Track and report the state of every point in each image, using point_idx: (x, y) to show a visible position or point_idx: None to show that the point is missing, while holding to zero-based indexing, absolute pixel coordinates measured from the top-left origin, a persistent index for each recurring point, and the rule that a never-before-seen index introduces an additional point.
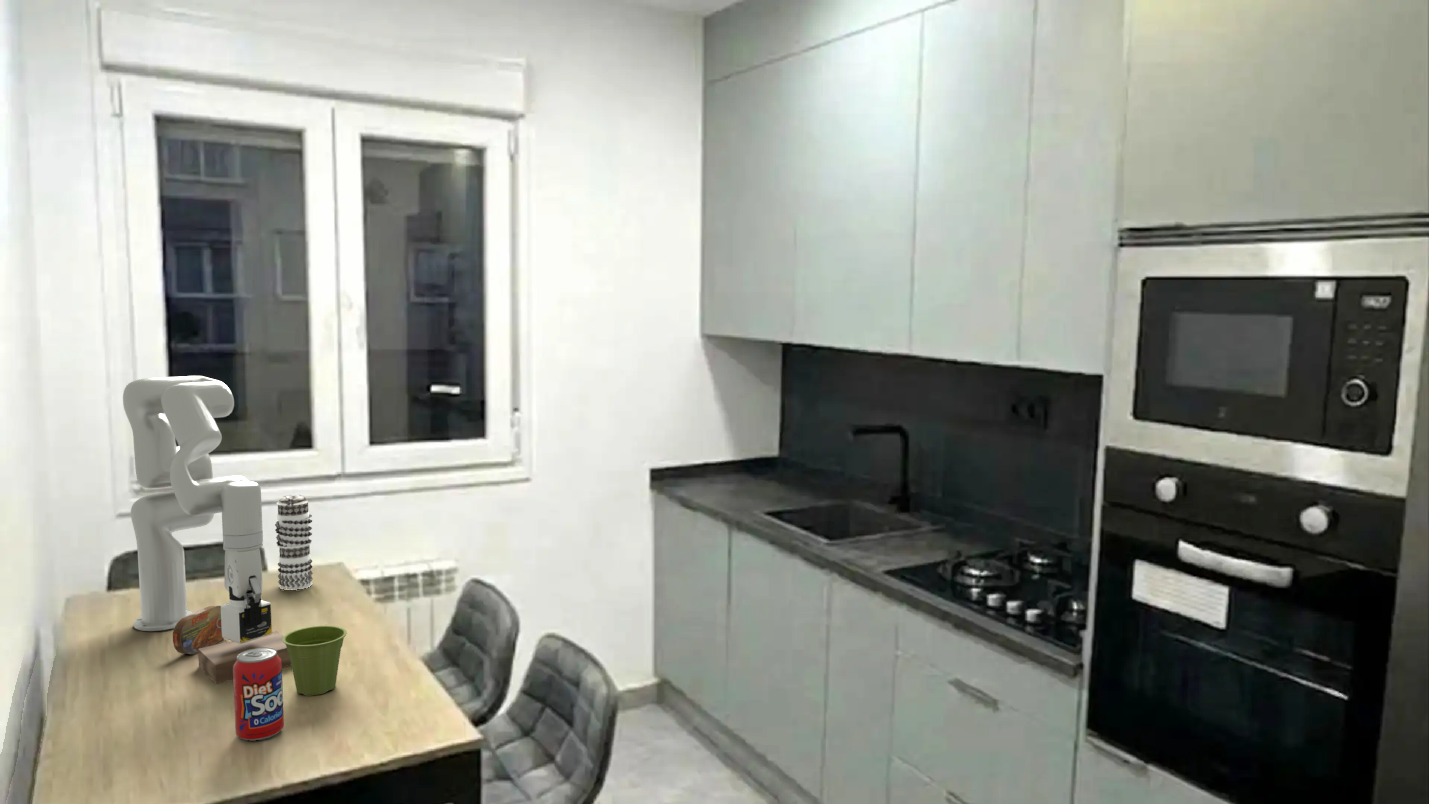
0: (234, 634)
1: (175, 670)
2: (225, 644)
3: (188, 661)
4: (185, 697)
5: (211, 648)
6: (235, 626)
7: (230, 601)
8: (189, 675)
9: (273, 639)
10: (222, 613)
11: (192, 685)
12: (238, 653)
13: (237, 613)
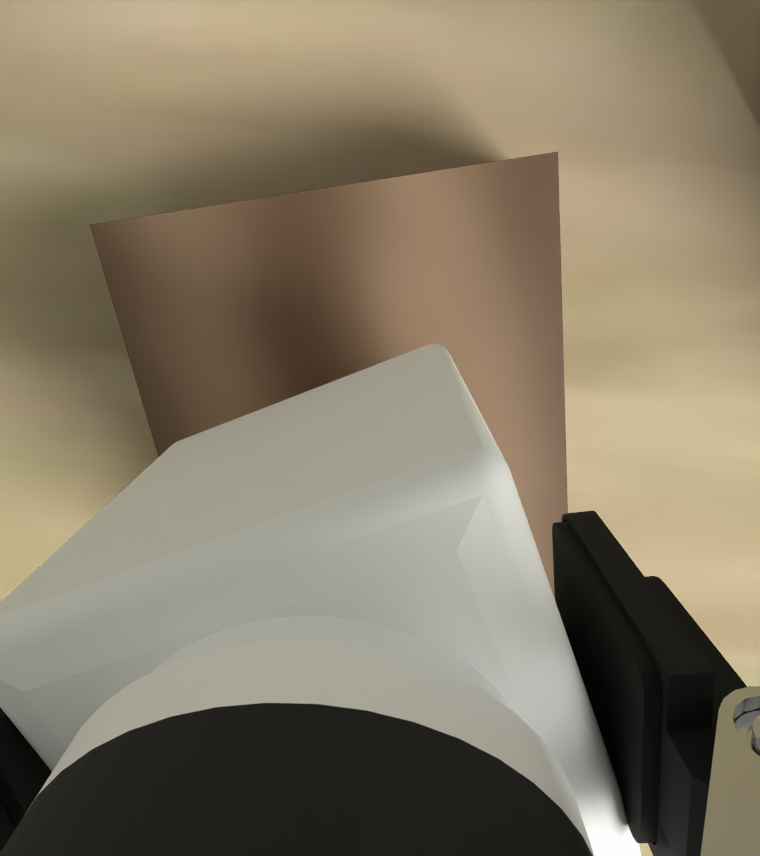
0: (222, 437)
1: (558, 10)
2: (518, 359)
3: (680, 122)
4: (4, 15)
5: (491, 253)
6: (170, 482)
7: (230, 669)
8: (398, 93)
9: None
10: (414, 428)
11: (201, 87)
12: (265, 405)
13: (14, 604)
